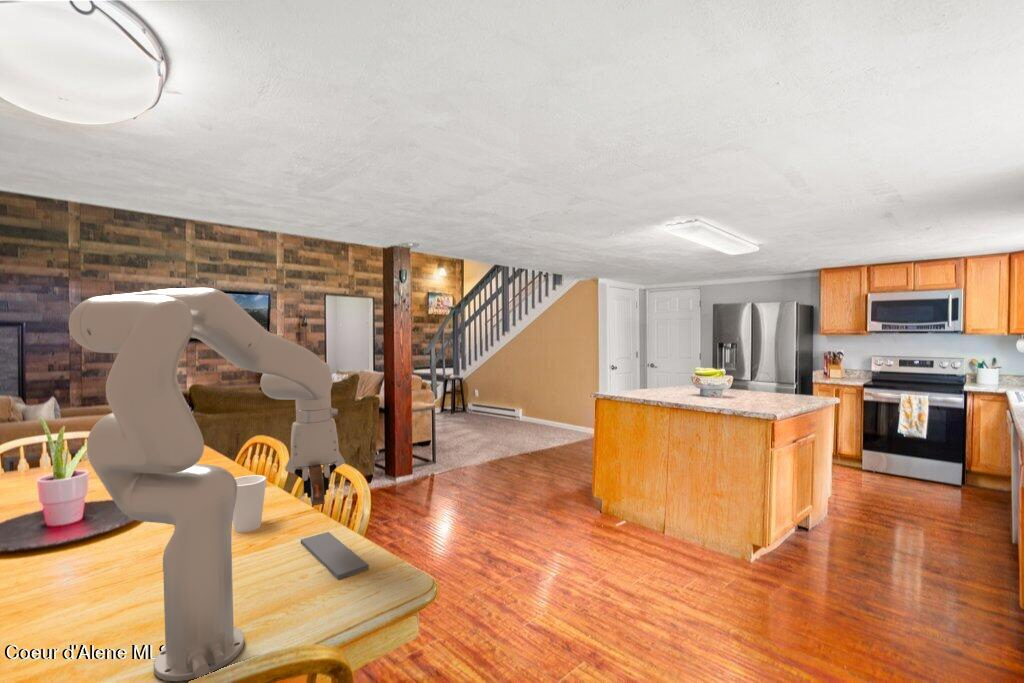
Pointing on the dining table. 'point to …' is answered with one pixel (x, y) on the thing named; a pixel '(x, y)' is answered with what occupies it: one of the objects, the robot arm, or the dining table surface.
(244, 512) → the foam cup
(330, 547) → the charcoal mat
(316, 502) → the tin
